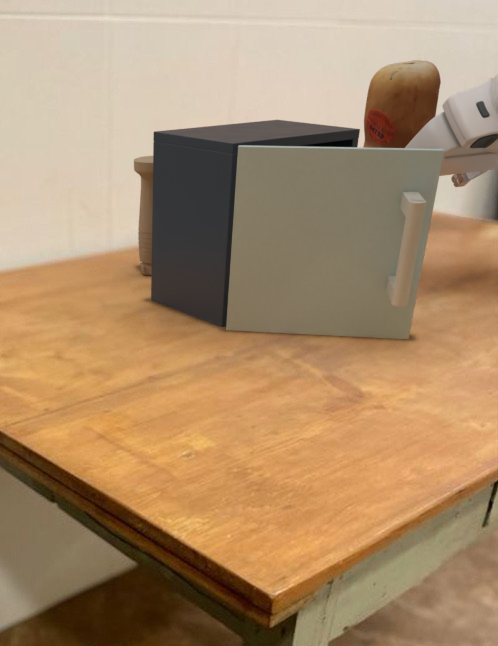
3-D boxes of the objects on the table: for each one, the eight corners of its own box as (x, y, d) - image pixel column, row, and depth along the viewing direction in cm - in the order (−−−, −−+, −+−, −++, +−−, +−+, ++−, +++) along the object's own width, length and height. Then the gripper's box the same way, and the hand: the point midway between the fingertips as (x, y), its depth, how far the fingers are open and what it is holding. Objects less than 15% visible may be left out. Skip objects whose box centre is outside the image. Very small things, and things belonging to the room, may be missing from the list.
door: (414, 363, 85) (455, 158, 74) (222, 353, 88) (235, 154, 77) (406, 341, 90) (442, 148, 80) (226, 332, 93) (238, 145, 83)
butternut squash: (327, 222, 144) (347, 60, 130) (375, 212, 151) (399, 57, 137) (392, 236, 134) (421, 63, 121) (440, 225, 141) (473, 60, 128)
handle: (175, 269, 117) (178, 156, 109) (160, 281, 112) (162, 163, 104) (144, 266, 119) (145, 154, 111) (127, 277, 114) (127, 161, 106)
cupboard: (336, 301, 104) (360, 129, 93) (221, 333, 93) (233, 143, 83) (263, 279, 113) (277, 119, 102) (150, 306, 102) (153, 131, 92)
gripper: (553, 88, 105) (475, 160, 117) (440, 95, 97) (369, 172, 109) (574, 129, 104) (493, 198, 116) (461, 141, 96) (387, 213, 108)
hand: (432, 185), depth 113 cm, fingers open, 8 cm apart
